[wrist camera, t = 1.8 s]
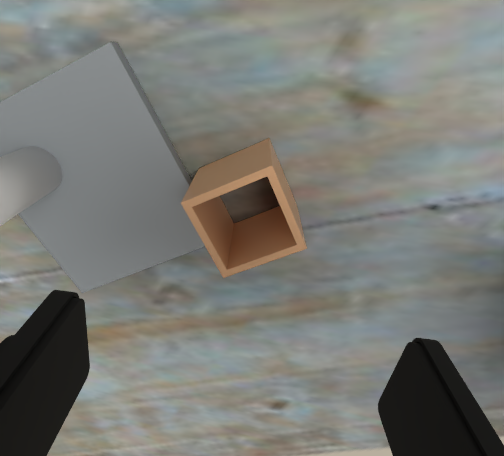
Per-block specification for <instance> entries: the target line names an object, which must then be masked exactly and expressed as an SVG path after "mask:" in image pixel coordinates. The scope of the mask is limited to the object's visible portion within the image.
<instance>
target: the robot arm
mask: <svg viewBox="0 0 504 456" xmlns="http://www.w3.org/2000/svg"><path fill="white" fill-rule="evenodd" d="M89 368H90V363H89V351H88V339H87V327H86V314H85V303H84V300H83V299H79V296H78V294H77V293H75V292H67V291H60V290H54V291H52V292H51V293H50V294H49V295H48V297H47V298H46V299H45V300H44V301H43V302H42V304H41V305H40V306H39V307H38V308H37V309H36V311H35V312H34V313H33V314H32V315H31V317H30V318H29V319H28V320H27V321H26V322H25V324H24V325H23V326H22V327H21V328H20V329H19V331H18V332H17V333H16V334H15V335H11V336H9V337H7V338H6V339H4V340H3V341H2V342H1V343H0V456H47V454H48V452H49V450H50V448H51V446H52V444H53V442H54V440H55V438H56V436H57V434H58V433H59V431H60V429H61V427H62V425H63V423H64V421H65V419H66V417H67V415H68V413H69V411H70V409H71V408H72V406H73V404H74V402H75V400H76V398H77V396H78V394H79V392H80V390H81V388H82V386H83V385H84V383H85V381H86V379H87V376H88V373H89ZM378 411H379V415H380V418H381V421H382V424H383V427H384V430H385V433H386V436H387V439H388V442H389V445H390V448H391V451H392V454H393V456H504V445H503V444H502V442H501V440H500V438H499V437H498V435H497V434H496V432H495V430H494V429H493V427H492V426H491V424H490V422H489V421H488V419H487V418H486V416H485V414H484V413H483V411H482V410H481V408H480V406H479V405H478V403H477V401H476V400H475V398H474V397H473V395H472V393H471V392H470V390H469V389H468V387H467V385H466V384H465V382H464V381H463V379H462V377H461V376H460V374H459V373H458V371H457V369H456V368H455V366H454V365H453V363H452V361H451V360H450V358H449V357H448V355H447V353H446V352H445V350H444V349H443V347H442V345H441V344H440V343H439V342H438V341H436V340H430V339H423V338H415V339H414V340H413V341H412V342H409V343H408V344H407V345H406V347H405V349H404V351H403V353H402V355H401V357H400V359H399V361H398V363H397V365H396V367H395V369H394V371H393V373H392V375H391V377H390V379H389V381H388V383H387V385H386V388H385V390H384V392H383V394H382V396H381V398H380V400H379V403H378Z"/></svg>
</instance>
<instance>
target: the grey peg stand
mask: <svg viewBox="0 0 504 456" xmlns="http://www.w3.org/2000/svg"><path fill="white" fill-rule="evenodd" d="M191 182H192V180H191V178H190V176H189V175H188V173H187V171H186V169H185V167H184V165H183V163H182V162H181V160H180V158H179V156H178V154H177V152H176V150H175V149H174V147H173V145H172V143H171V141H170V139H169V137H168V136H167V134H166V132H165V130H164V128H163V126H162V124H161V122H160V121H159V119H158V117H157V115H156V113H155V111H154V109H153V108H152V106H151V104H150V102H149V100H148V98H147V96H146V95H145V93H144V91H143V89H142V87H141V85H140V83H139V82H138V80H137V78H136V76H135V74H134V72H133V70H132V69H131V67H130V65H129V63H128V61H127V59H126V57H125V56H124V54H123V52H122V50H121V48H120V46H119V44H118V43H117V42H109V43H107V44H106V45H104V46H102V47H100V48H98V49H96V50H95V51H93V52H91V53H89V54H87V55H85V56H84V57H82V58H80V59H78V60H76V61H74V62H73V63H71V64H69V65H67V66H65V67H63V68H62V69H60V70H58V71H56V72H54V73H52V74H51V75H49V76H47V77H45V78H43V79H41V80H40V81H38V82H36V83H34V84H32V85H30V86H29V87H27V88H25V89H23V90H21V91H19V92H18V93H16V94H14V95H12V96H10V97H8V98H7V99H5V100H3V101H1V102H0V226H1V225H3V224H4V223H6V222H7V221H8V220H10V219H11V218H13V217H14V216H16V215H17V214H19V216H20V217H21V218H22V219H23V221H24V222H25V223H26V224H27V226H28V227H29V228H30V229H31V231H32V232H33V233H34V234H35V235H36V237H37V238H38V239H39V240H40V242H41V243H42V244H43V245H44V247H45V248H46V249H47V250H48V252H49V253H50V254H51V255H52V256H53V258H54V259H55V260H56V261H57V263H58V264H59V265H60V266H61V268H62V269H63V270H64V271H65V273H66V274H67V275H68V276H69V277H70V279H71V280H72V281H73V282H74V284H75V285H76V286H77V287H78V289H79V290H80V291H81V292H82V293H84V292H86V291H89V290H92V289H94V288H97V287H100V286H102V285H105V284H107V283H110V282H113V281H115V280H118V279H121V278H123V277H126V276H129V275H131V274H134V273H137V272H139V271H142V270H145V269H147V268H150V267H152V266H155V265H158V264H160V263H163V262H166V261H168V260H171V259H174V258H176V257H179V256H182V255H184V254H187V253H190V252H192V251H195V250H197V249H200V248H203V247H205V245H204V243H203V241H202V240H201V238H200V236H199V234H198V233H197V231H196V229H195V227H194V226H193V224H192V222H191V220H190V219H189V217H188V215H187V213H186V212H185V210H184V208H183V206H182V205H181V201H182V200H183V198H184V196H185V194H186V192H187V190H188V188H189V186H190V184H191Z"/></svg>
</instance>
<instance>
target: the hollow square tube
mask: <svg viewBox="0 0 504 456" xmlns="http://www.w3.org/2000/svg"><path fill="white" fill-rule="evenodd" d="M264 177H268V179H269V181H270V183H271V186H272V188H273V190H274V193H275V195H276V197H277V200H278V202H279V204H280V206H278V207H276V208H273V209H271V210H268V211H265V212H263V213H260V214H258V215H255V216H253V217H250V218H247V219H245V220H242V221H240V222H237V223H233V221H232V219H231V217H230V215H229V213H228V211H227V209H226V207H225V205H224V203H223V201H222V199H221V197H220V195H223V194H225V193H228V192H230V191H232V190H235V189H237V188H240V187H242V186H245V185H247V184H250V183H252V182H255V181H257V180H259V179H262V178H264ZM181 205H182V206H183V208H184V210H185V212H186V213H187V215H188V217H189V219H190V220H191V222H192V224H193V226H194V227H195V229H196V231H197V233H198V234H199V236H200V238H201V240H202V241H203V243H204V245H205V247H206V248H207V250H208V252H209V254H210V255H211V257H212V259H213V261H214V262H215V264H216V266H217V268H218V269H219V271H220V273H221V275H222V276H223V278H225V277H228V276H231V275H233V274H236V273H239V272H242V271H245V270H248V269H250V268H253V267H256V266H259V265H262V264H265V263H267V262H270V261H273V260H276V259H279V258H282V257H284V256H287V255H290V254H293V253H296V252H299V251H301V250H304V249H307V246H306V242H305V238H304V233H303V229H302V225H301V221H300V216H299V212H298V208H297V204H296V202H295V199H294V197H293V195H292V192H291V190H290V187H289V185H288V182H287V180H286V177H285V175H284V173H283V170H282V168H281V165H280V163H279V160H278V158H277V155H276V153H275V151H274V148H273V146H272V143H271V141H270V138H268V139H266V140H264V141H261V142H259V143H257V144H254V145H252V146H250V147H247V148H245V149H243V150H240V151H238V152H236V153H233V154H231V155H229V156H226V157H224V158H222V159H219V160H217V161H215V162H212V163H210V164H208V165H206V166H203V167H201V168H199V169H198V171H197V173H196V175H195V177H194V179H193V181H192V182H191V184H190V186H189V188H188V190H187V192H186V194H185V196H184V198H183V200H182V201H181Z"/></svg>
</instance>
